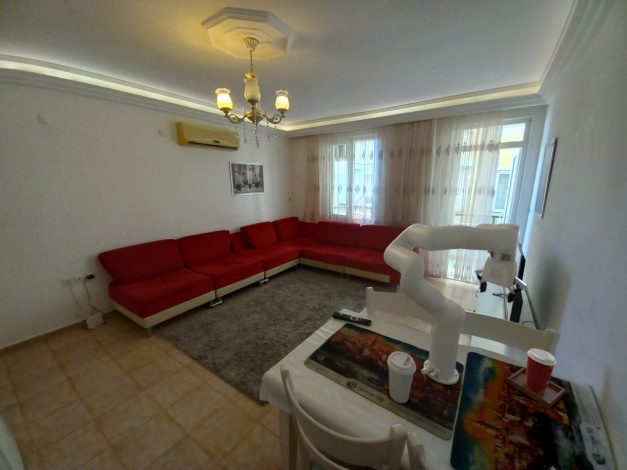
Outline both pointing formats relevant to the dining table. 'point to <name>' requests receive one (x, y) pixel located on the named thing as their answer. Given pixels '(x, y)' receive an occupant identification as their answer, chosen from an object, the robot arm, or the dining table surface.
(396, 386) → the coffee cup
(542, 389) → the paper cup
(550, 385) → the tray
